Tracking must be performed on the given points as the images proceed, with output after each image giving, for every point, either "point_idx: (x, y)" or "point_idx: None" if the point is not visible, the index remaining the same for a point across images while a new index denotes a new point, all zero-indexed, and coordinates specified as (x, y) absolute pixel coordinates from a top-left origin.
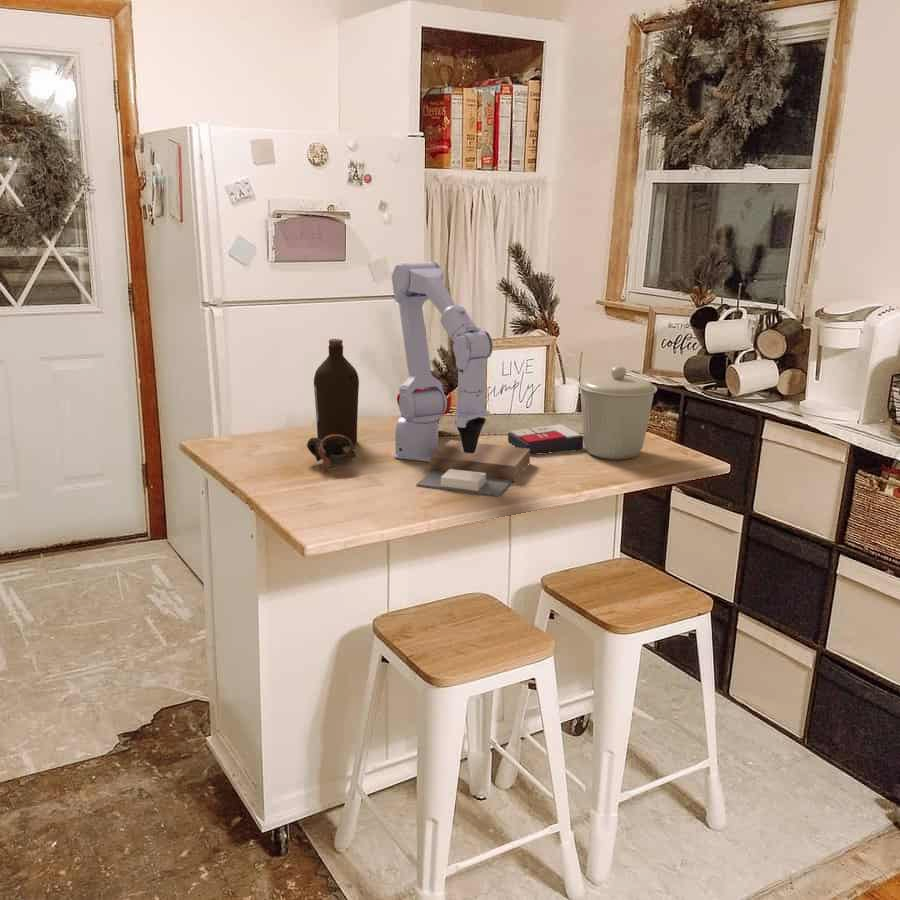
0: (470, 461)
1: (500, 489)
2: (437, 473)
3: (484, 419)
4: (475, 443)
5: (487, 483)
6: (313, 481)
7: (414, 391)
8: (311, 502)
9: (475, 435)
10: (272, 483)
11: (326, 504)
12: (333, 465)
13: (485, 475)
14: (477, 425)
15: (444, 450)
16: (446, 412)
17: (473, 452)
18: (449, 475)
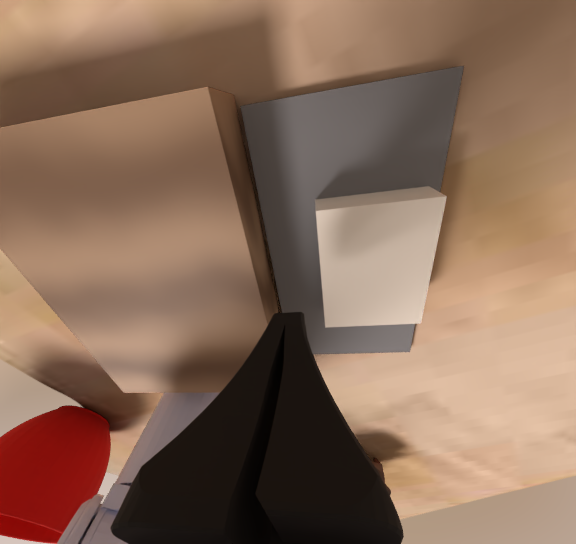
0: (261, 299)
1: (383, 99)
2: None
3: (160, 530)
4: (301, 344)
5: (327, 187)
6: (431, 460)
7: (7, 528)
8: (556, 442)
9: (332, 397)
10: (455, 484)
11: (570, 427)
12: (382, 470)
13: (322, 207)
14: (397, 522)
15: (213, 382)
16: (7, 454)
17: (301, 313)
18: (395, 308)
